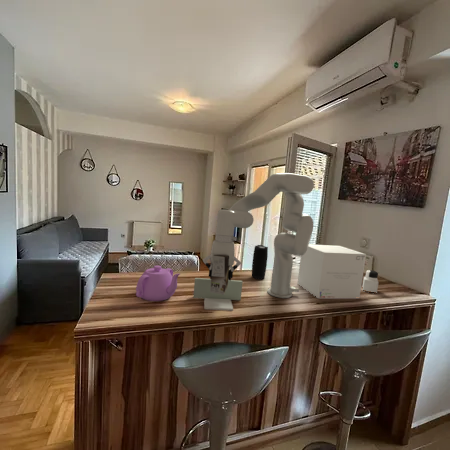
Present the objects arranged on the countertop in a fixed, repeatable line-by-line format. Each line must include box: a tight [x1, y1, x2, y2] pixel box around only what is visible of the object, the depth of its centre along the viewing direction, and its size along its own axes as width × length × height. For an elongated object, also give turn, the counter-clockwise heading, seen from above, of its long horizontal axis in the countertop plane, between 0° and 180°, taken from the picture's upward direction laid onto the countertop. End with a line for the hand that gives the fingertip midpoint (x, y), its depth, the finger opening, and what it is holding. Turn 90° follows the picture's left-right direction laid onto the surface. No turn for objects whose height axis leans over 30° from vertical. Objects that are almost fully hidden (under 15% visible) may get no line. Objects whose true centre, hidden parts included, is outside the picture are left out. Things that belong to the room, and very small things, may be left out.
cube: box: [296, 243, 367, 299], centre depth 147 cm, size 25×21×24 cm
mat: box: [203, 298, 234, 311], centre depth 116 cm, size 12×10×1 cm
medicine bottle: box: [361, 269, 379, 294], centre depth 154 cm, size 7×7×12 cm
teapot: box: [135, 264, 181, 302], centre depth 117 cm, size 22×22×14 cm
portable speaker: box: [251, 244, 269, 281], centre depth 160 cm, size 9×9×20 cm
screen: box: [192, 277, 244, 301], centre depth 122 cm, size 22×1×9 cm, turn 95°
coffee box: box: [210, 255, 230, 295], centre depth 114 cm, size 9×6×16 cm
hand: (220, 278), depth 114 cm, fingers closed on coffee box, 7 cm apart
